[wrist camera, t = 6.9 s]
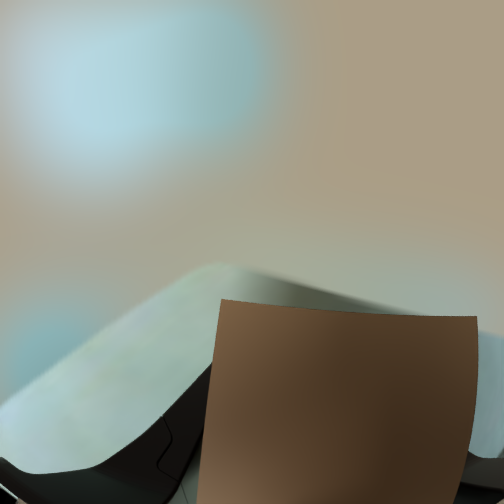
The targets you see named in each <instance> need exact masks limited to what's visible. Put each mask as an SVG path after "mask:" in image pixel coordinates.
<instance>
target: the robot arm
mask: <svg viewBox="0 0 504 504" xmlns="http://www.w3.org/2000/svg"><path fill="white" fill-rule="evenodd" d="M211 369H212V363H211V364H210V365H209V366H208V367H207V368H206V370H205V371H204V372H203V373H202V374H201V375H200V376H199V377H198V378H197V379H196V380H195V381H194V382H193V384H192V385H191V386H190V387H189V388H188V389H187V390H186V391H185V392H184V393H183V394H182V395H181V396H180V397H179V398H178V399H177V400H176V401H175V402H174V403H173V405H172V406H171V407H170V408H169V409H168V410H167V411H166V412H165V413H164V414H163V415H162V416H163V417H162V416H161V417H160V418H159V419H158V420H157V421H156V422H155V423H154V424H153V425H152V426H151V427H149V428H148V429H147V430H146V431H145V432H144V433H143V434H142V435H140V436H139V437H138V438H136V439H135V440H134V441H133V442H131V443H130V444H128V445H127V446H126V447H124V448H123V449H121V450H120V451H119V452H117V453H116V454H114V455H113V456H111V457H110V458H108V459H107V460H105V461H104V462H102V463H100V464H98V465H96V466H94V467H91V468H87V469H81V470H74V471H67V472H59V473H48V474H31V473H26V472H23V471H21V470H19V469H18V468H16V467H15V466H14V465H12V464H11V463H10V462H8V461H7V460H6V459H4V458H3V457H0V483H1V484H2V485H3V486H4V487H5V488H7V489H8V490H9V491H10V492H12V493H13V494H14V495H15V496H17V497H18V499H16V498H15V497H14V496H12V495H11V494H10V493H8V492H7V491H6V490H4V489H3V488H2V487H1V486H0V504H196V502H197V491H198V480H199V470H200V461H201V452H202V442H203V434H204V425H205V417H206V408H207V400H208V392H209V384H210V377H211ZM453 504H504V458H481V457H478V456H476V455H474V454H472V453H471V452H469V451H468V453H467V458H466V462H465V466H464V470H463V473H462V477H461V480H460V484H459V487H458V490H457V493H456V496H455V499H454V502H453Z"/></svg>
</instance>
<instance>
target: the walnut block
mask: <svg viewBox="0 0 504 504" xmlns="http://www.w3.org/2000/svg"><path fill="white" fill-rule="evenodd" d="M477 382H478V326H477V316H415V315H390V314H371V313H355V312H341V311H328V310H316V309H305V308H294V307H284V306H275V305H266V304H257V303H249V302H241V301H233V300H225V299H221V305H220V312H219V319H218V326H217V333H216V340H215V347H214V354H213V362H212V369H211V377H210V384H209V392H208V400H207V408H206V417H205V425H204V434H203V442H202V452H201V461H200V470H199V480H198V491H197V502H196V504H453V502H454V499H455V496H456V493H457V490H458V487H459V484H460V480H461V477H462V473H463V470H464V466H465V462H466V458H467V453H468V449H469V444H470V439H471V433H472V427H473V421H474V414H475V405H476V395H477Z"/></svg>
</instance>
